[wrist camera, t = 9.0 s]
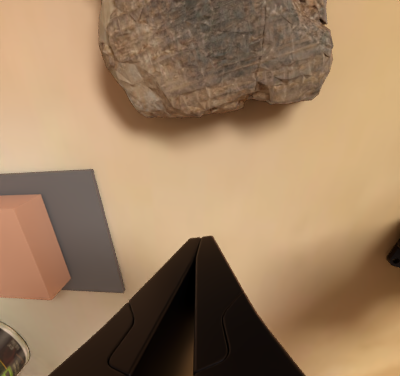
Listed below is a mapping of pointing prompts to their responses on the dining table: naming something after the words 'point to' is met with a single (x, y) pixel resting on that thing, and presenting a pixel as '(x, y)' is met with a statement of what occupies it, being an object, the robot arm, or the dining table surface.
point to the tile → (29, 250)
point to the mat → (74, 225)
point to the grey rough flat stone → (214, 53)
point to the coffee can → (12, 351)
